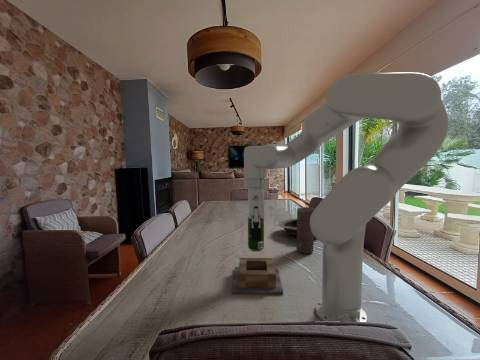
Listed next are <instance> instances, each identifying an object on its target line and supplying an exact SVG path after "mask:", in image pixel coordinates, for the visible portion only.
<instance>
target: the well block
mask: <svg viewBox="0 0 480 360" xmlns="http://www.w3.org/2000/svg"><path fill="white" fill-rule="evenodd" d="M233 271H234V272H233V280H232V283H231V284H232V286H231V295H270V296H271V295H274V296H275V295H276V296H277V295H279V296H282V295H284V289H283V285H282V281H281V276H280V273H279V269H278V267H277V266H275V264H274V258H273V257H239V262H238V266H235V267H234V270H233Z"/></svg>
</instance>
